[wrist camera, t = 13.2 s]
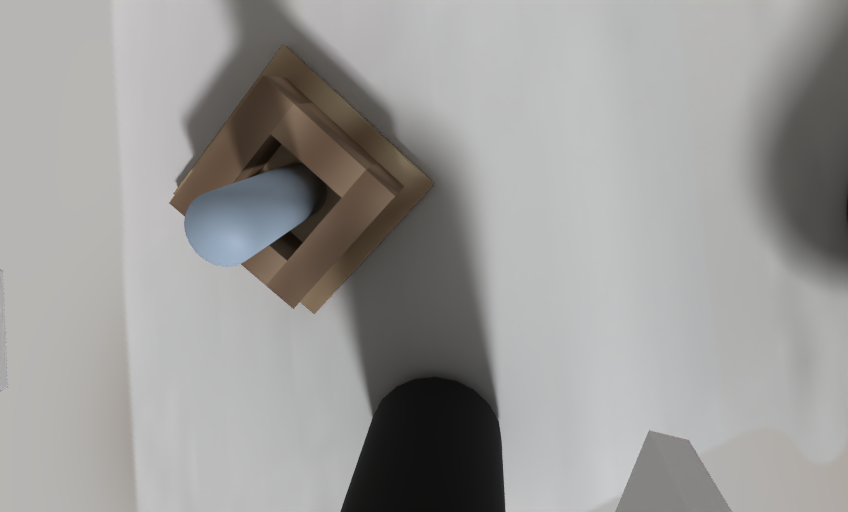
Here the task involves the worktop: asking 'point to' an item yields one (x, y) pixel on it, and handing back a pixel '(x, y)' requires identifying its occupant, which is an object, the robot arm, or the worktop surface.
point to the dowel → (252, 213)
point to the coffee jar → (430, 453)
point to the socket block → (326, 157)
